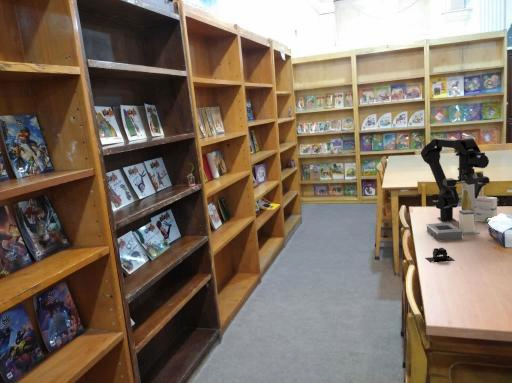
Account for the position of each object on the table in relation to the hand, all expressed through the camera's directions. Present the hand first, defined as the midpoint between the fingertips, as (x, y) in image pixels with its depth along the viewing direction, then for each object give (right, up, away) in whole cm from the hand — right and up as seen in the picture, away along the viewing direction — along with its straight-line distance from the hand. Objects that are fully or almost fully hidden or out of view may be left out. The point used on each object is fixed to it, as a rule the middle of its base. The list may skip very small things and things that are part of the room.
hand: (465, 199), depth 187 cm
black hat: (-27, -23, -33) cm, 49 cm away
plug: (-2, -14, -5) cm, 15 cm away
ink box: (+14, -11, +7) cm, 19 cm away
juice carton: (+13, -9, +19) cm, 25 cm away
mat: (-2, -15, -5) cm, 16 cm away
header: (-13, -16, -7) cm, 22 cm away
